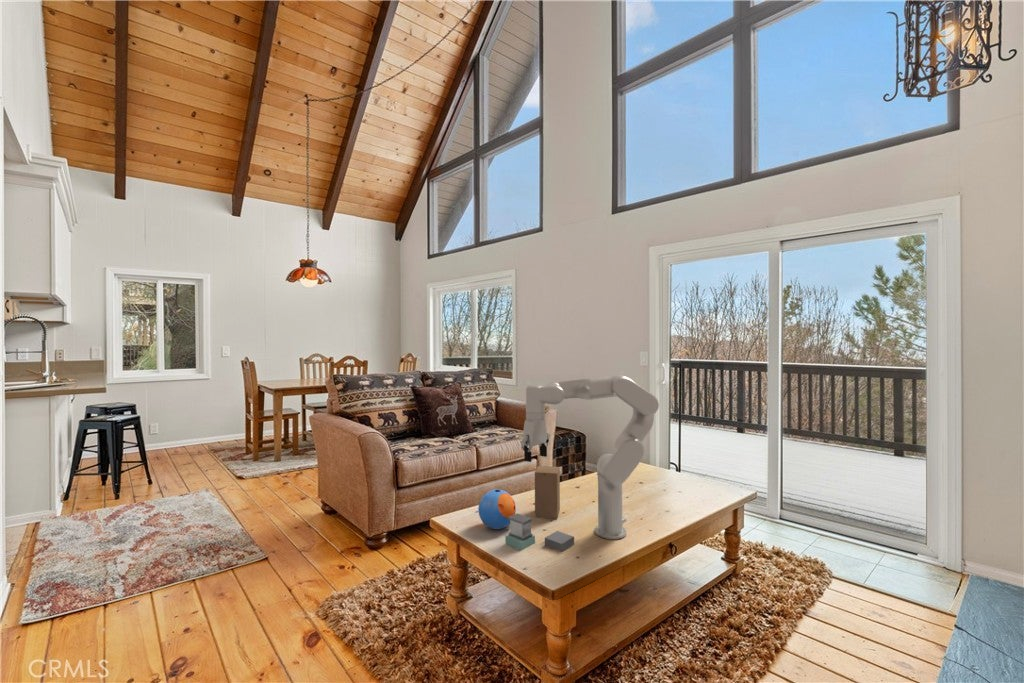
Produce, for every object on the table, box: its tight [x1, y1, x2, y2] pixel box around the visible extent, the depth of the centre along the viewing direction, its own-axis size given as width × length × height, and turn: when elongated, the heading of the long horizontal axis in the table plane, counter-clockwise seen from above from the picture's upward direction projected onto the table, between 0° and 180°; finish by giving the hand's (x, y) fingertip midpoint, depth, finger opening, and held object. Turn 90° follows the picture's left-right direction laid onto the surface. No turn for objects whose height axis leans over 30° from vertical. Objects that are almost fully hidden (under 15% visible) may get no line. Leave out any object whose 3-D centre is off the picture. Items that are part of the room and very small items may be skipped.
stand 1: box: [504, 534, 536, 551], centre depth 180 cm, size 8×8×3 cm
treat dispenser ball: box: [478, 489, 517, 530], centre depth 195 cm, size 16×15×15 cm
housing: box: [508, 512, 533, 541], centre depth 180 cm, size 5×8×7 cm, turn 48°
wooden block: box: [534, 465, 561, 520], centre depth 208 cm, size 10×10×20 cm
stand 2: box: [544, 530, 575, 553], centre depth 178 cm, size 8×8×3 cm
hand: (535, 458), depth 188 cm, fingers open, 9 cm apart
